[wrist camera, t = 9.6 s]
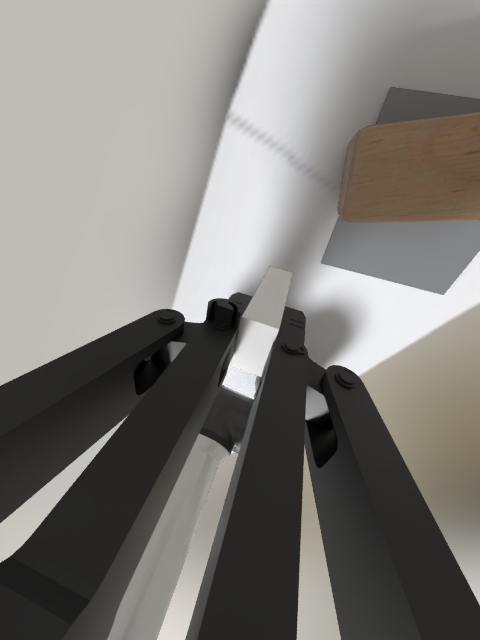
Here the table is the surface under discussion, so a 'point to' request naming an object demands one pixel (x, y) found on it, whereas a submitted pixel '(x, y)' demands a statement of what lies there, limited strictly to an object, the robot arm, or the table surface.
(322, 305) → the table surface
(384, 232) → the mat
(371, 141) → the wooden block
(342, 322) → the table surface
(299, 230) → the table surface
